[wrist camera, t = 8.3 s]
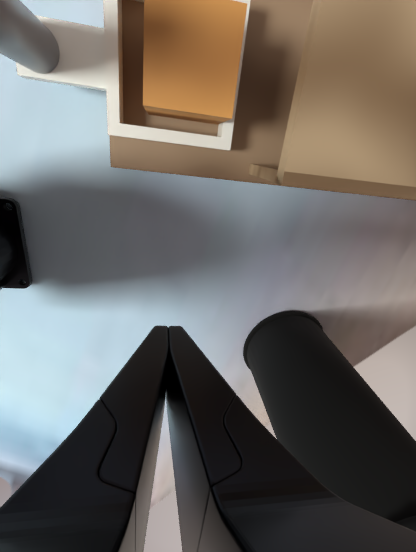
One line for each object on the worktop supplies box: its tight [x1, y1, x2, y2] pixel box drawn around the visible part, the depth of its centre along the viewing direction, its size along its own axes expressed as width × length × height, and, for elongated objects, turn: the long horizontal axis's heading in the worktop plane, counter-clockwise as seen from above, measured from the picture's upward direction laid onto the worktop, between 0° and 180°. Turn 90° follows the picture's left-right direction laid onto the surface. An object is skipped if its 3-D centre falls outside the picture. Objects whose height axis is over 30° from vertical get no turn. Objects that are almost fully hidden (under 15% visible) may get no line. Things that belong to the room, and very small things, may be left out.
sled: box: [0, 0, 251, 150], centre depth 10 cm, size 7×11×10 cm, turn 83°
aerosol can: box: [243, 311, 416, 532], centre depth 18 cm, size 8×8×20 cm
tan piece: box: [110, 0, 416, 200], centre depth 15 cm, size 10×25×8 cm, turn 83°
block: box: [143, 0, 247, 125], centre depth 13 cm, size 4×4×4 cm
